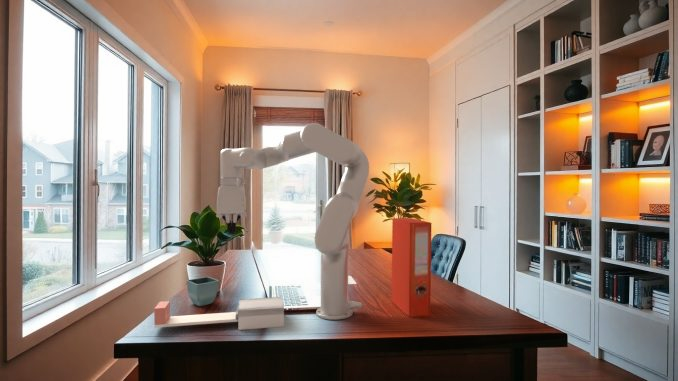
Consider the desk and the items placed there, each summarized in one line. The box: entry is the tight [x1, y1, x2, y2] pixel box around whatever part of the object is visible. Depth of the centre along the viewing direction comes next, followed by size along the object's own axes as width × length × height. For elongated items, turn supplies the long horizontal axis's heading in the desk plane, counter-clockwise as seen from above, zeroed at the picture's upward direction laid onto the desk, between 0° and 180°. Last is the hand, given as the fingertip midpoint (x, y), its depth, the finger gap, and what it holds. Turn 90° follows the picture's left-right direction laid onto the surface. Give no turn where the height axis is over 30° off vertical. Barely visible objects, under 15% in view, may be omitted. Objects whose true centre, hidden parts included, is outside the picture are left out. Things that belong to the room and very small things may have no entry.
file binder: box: [391, 217, 432, 318], centre depth 142 cm, size 8×17×32 cm, turn 12°
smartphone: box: [348, 275, 357, 286], centre depth 183 cm, size 7×1×15 cm
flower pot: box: [186, 276, 219, 307], centre depth 148 cm, size 9×9×9 cm
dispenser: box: [235, 296, 285, 331], centre depth 129 cm, size 15×12×6 cm
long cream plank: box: [153, 300, 238, 329], centre depth 125 cm, size 26×7×6 cm, turn 102°
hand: (231, 233), depth 143 cm, fingers closed
